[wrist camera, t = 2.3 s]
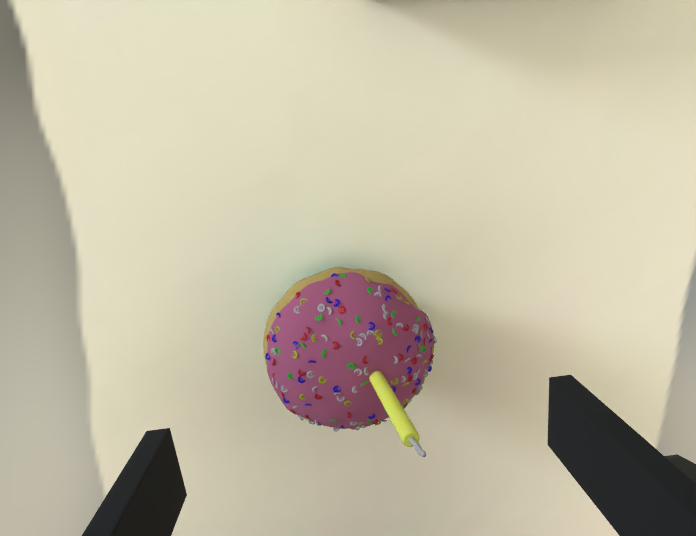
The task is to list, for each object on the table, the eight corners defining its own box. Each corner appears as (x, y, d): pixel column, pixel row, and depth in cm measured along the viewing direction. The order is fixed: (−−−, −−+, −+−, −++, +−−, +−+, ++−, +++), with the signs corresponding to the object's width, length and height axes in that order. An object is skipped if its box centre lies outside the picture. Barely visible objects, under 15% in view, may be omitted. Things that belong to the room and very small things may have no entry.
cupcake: (423, 260, 25) (515, 347, 14) (399, 386, 27) (460, 556, 16) (279, 242, 24) (245, 318, 13) (265, 374, 26) (225, 544, 15)
